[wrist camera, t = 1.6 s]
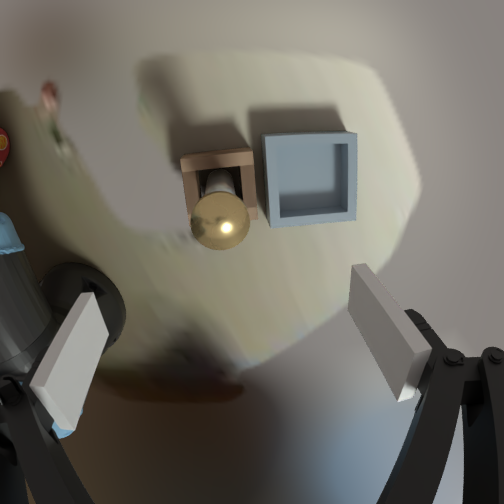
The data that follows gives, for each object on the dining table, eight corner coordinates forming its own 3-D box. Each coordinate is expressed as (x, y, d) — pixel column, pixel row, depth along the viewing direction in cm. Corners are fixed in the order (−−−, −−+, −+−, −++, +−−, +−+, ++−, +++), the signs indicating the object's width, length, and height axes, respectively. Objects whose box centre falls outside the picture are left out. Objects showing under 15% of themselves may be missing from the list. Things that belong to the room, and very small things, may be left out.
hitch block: (192, 215, 41) (189, 226, 37) (184, 154, 37) (180, 159, 34) (254, 208, 41) (257, 219, 38) (249, 147, 38) (252, 151, 34)
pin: (203, 202, 40) (194, 253, 27) (198, 165, 38) (186, 197, 25) (240, 198, 41) (252, 246, 27) (237, 161, 39) (247, 191, 25)
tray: (266, 218, 42) (270, 228, 39) (261, 134, 37) (264, 136, 34) (346, 211, 43) (355, 220, 40) (346, 131, 38) (357, 133, 35)
